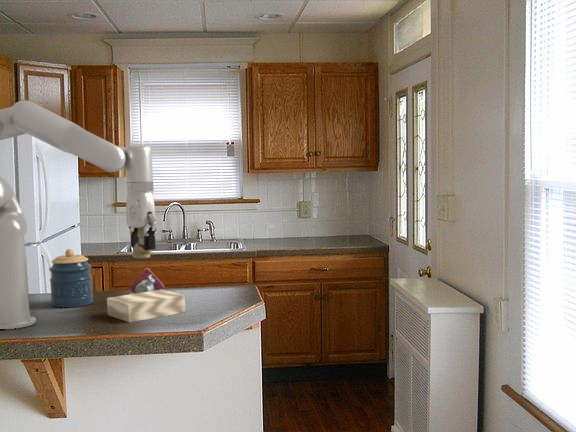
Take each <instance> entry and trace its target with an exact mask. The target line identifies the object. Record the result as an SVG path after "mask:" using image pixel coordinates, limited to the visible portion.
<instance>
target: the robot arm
mask: <svg viewBox="0 0 576 432" xmlns="http://www.w3.org/2000/svg"><path fill="white" fill-rule="evenodd" d="M25 134H27V135H29V136H31V137H34V138H35V139H37V140H40V141H41V142H43V143H46V144H48V145H50V146H52V147H53V148H54V149H58V150H59V151H62V152H64V153H68V154H71V155H73V156H75V157H78V158H80V159H82V160H84V161H86V162H88V163H90V164H92V165H94V166H96V167H98V168H99V169H102V170H103V171H106V172H108V173H114V172H118V171H119V172H120V171H124V170H125V173H126V174H125V175H126V176H125V177H126V191H127V193H126V203H125V204H126V206H125V208H126V213H125V214H126V217H125V218H126V219H125V220H126V221H125V222H126V225H127V226H128V228H129V234H130V248H132V249H133V248H134V246H135V244H136V243H138V241H139V238H138V228H142V227H143V230H144V233H145V236H144V246H145V250H151V251H153V250H156V234H157V227H158V221H157V219H156V208H155V207H156V206H155V198H154V191H155V190H154V172H153V171H154V170H153V151H152V147H150V145H128V146H118V145H116V144H114V143H112V142H110V141H108V140H105V139H104V138H102V137H100V136H97V135H96V134H94V133H92V132H90V131H88V130H86V129H85V128H83V127H82V126H80V125H78V124H76V123H75V122H73V121H71V120H69V119H66V118H64V117H62V116H60V115H59V114H56V113H55V112H52V111H51V110H49V109H47V108H45V107H43V106H41V105H39V104H37V103H35V102H33V101H29V100H20V101H16V102H15V103H14V104H13V105H12V106H9V107H6V108H1V109H0V141H3V140H6V139H10V138H14V137H15V138H16V137H18V136H22V135H25ZM27 230H28V224H27V220H26V217H25V216H24V212H23V211H22V209H21V206H20V203H19V202H18V199H17V197H16V194H15V192H14V190H13V188H12V186H11V184H10V182H8V180H6V179H5V178H3V177H2V175H0V329H5V330H14V329H15V328H16V329H21V328H26V327H29V326H32V325H35V324H34V323H37V318H36V317H35V316H31V315H30V314H31V313H30V298H29V297H30V296H29V295H30V293H29V281H28V280H29V279H28V268H27V267H28V266H27V265H28V264H27V252H26V243H25V236H26V234H27ZM16 329H15V330H16Z"/></svg>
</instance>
